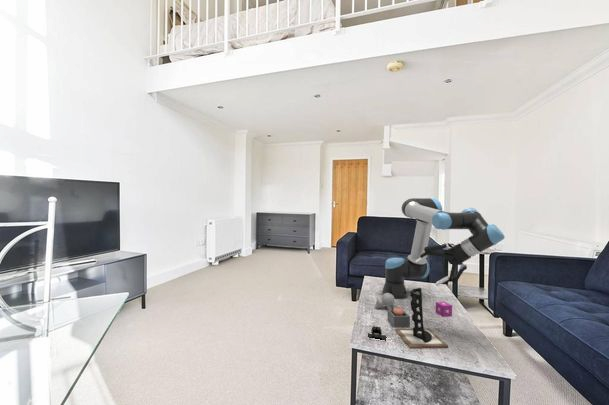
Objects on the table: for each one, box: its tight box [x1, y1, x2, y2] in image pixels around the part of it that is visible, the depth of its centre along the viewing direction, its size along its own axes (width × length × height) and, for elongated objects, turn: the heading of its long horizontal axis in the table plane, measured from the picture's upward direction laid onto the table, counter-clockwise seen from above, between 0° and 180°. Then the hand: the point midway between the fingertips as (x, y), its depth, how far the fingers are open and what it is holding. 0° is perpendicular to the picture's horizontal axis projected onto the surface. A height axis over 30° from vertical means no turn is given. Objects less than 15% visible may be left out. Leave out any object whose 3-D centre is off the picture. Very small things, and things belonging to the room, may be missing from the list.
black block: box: [367, 325, 388, 342], centre depth 117 cm, size 12×7×5 cm, turn 75°
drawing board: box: [395, 327, 449, 349], centre depth 116 cm, size 15×16×1 cm
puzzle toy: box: [435, 301, 453, 318], centre depth 142 cm, size 6×6×6 cm
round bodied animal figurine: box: [373, 293, 398, 311], centre depth 149 cm, size 7×12×8 cm, turn 82°
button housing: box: [387, 309, 411, 328], centre depth 131 cm, size 8×8×5 cm
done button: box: [392, 306, 405, 316], centre depth 131 cm, size 5×5×3 cm
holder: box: [409, 287, 432, 343], centre depth 116 cm, size 11×8×20 cm
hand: (426, 272), depth 129 cm, fingers open, 13 cm apart
